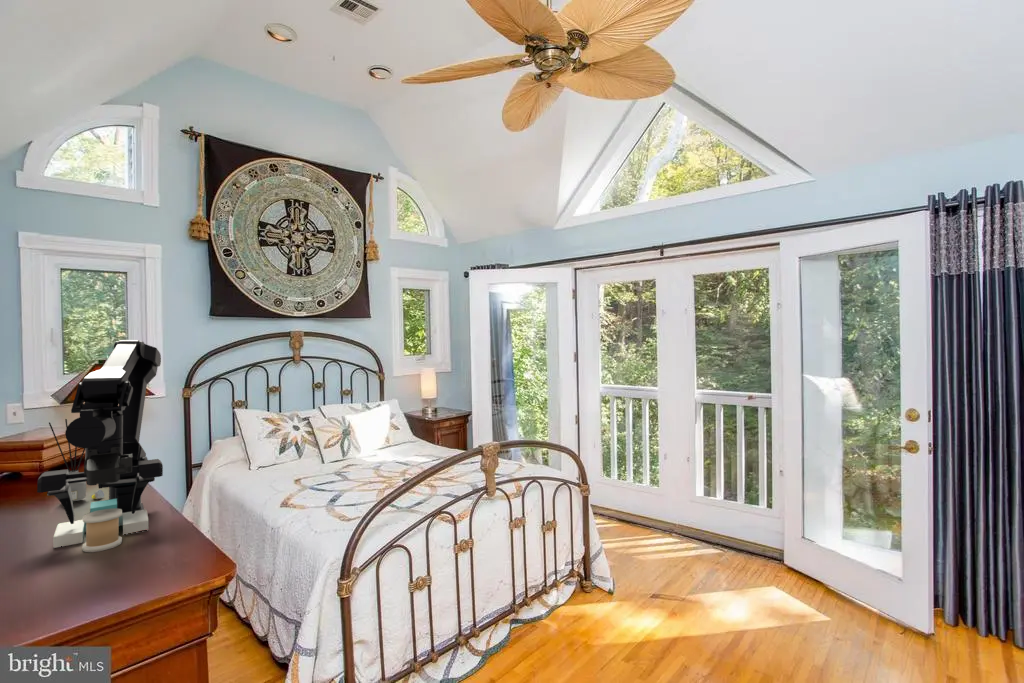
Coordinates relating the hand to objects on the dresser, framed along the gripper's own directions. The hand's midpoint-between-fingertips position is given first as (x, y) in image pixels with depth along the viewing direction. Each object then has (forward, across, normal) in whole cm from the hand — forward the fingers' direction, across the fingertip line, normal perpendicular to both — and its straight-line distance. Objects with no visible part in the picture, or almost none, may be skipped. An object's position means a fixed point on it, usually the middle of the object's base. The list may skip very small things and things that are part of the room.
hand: (103, 518), depth 97 cm
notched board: (+3, 0, +1) cm, 3 cm away
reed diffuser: (+3, -6, +32) cm, 33 cm away
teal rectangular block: (+3, 0, 0) cm, 3 cm away
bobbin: (+3, 0, -8) cm, 9 cm away
